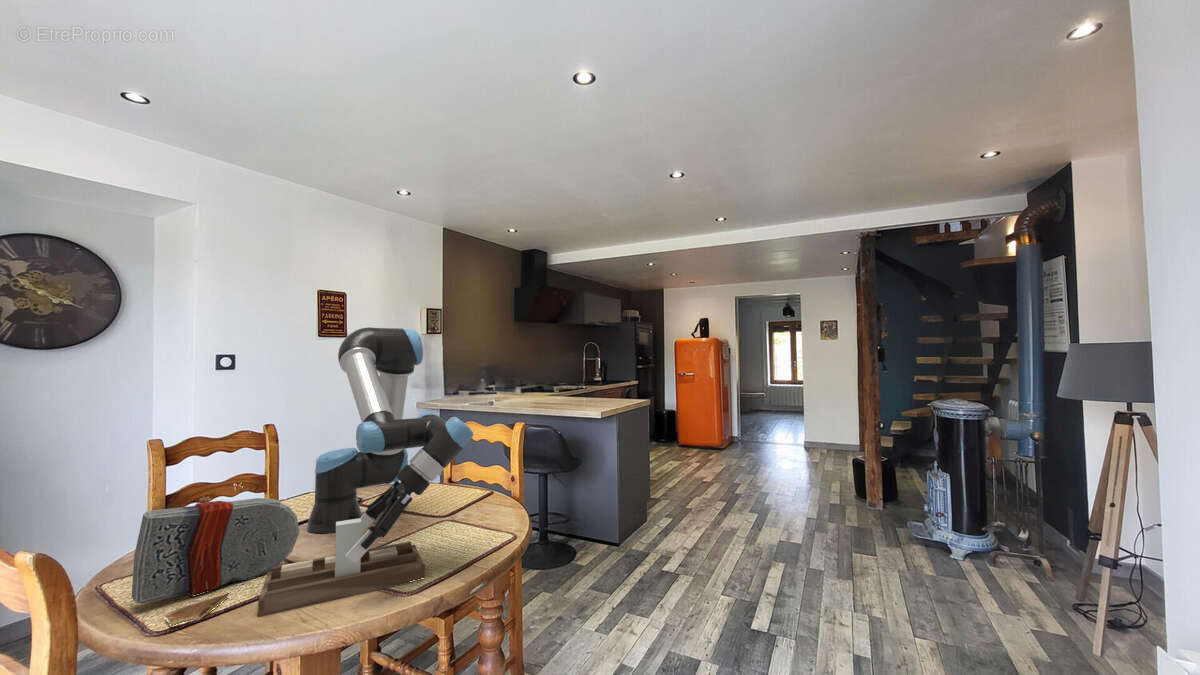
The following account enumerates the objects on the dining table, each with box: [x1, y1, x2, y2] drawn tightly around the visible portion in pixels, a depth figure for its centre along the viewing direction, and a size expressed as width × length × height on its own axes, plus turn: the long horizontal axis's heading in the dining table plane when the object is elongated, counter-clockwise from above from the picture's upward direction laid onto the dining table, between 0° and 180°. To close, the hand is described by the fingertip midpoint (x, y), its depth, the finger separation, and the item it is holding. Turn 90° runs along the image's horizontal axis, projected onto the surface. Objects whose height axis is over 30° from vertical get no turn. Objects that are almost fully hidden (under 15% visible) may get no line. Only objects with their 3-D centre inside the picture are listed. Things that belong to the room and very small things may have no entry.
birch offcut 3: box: [369, 547, 397, 561], centre depth 116 cm, size 4×6×4 cm, turn 120°
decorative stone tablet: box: [130, 497, 300, 605], centre depth 110 cm, size 19×6×30 cm
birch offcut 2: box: [325, 555, 335, 570], centre depth 112 cm, size 4×7×5 cm, turn 120°
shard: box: [163, 592, 230, 626], centre depth 97 cm, size 11×8×2 cm
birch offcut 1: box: [280, 559, 313, 578], centre depth 107 cm, size 4×6×5 cm, turn 120°
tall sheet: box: [334, 518, 362, 578], centre depth 107 cm, size 3×5×15 cm, turn 120°
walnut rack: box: [257, 541, 426, 617], centre depth 110 cm, size 16×32×4 cm, turn 120°
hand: (348, 549), depth 106 cm, fingers open, 13 cm apart
